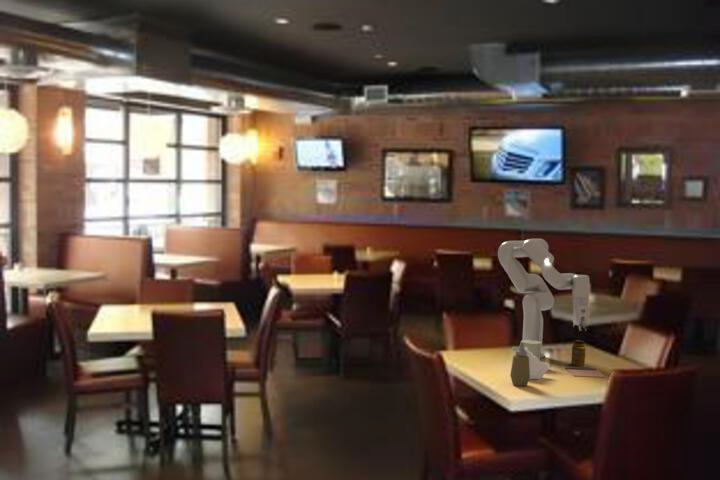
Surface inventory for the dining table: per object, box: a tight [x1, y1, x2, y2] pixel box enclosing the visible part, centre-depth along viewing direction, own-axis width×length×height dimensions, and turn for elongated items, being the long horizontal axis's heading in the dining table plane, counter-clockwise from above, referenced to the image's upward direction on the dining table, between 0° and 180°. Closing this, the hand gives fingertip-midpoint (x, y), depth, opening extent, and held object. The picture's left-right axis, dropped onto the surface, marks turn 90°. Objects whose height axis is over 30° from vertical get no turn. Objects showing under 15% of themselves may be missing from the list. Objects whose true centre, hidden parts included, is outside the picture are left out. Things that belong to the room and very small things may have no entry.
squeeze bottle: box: [509, 341, 531, 387], centre depth 325 cm, size 8×8×18 cm
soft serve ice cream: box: [524, 347, 549, 381], centre depth 339 cm, size 12×15×14 cm
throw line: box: [565, 366, 597, 370], centre depth 359 cm, size 14×2×1 cm, turn 90°
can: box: [520, 339, 541, 361], centre depth 362 cm, size 9×9×12 cm
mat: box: [566, 369, 606, 378], centre depth 351 cm, size 14×12×1 cm
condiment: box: [564, 339, 589, 368], centre depth 367 cm, size 7×8×12 cm
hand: (579, 337), depth 366 cm, fingers open, 9 cm apart
